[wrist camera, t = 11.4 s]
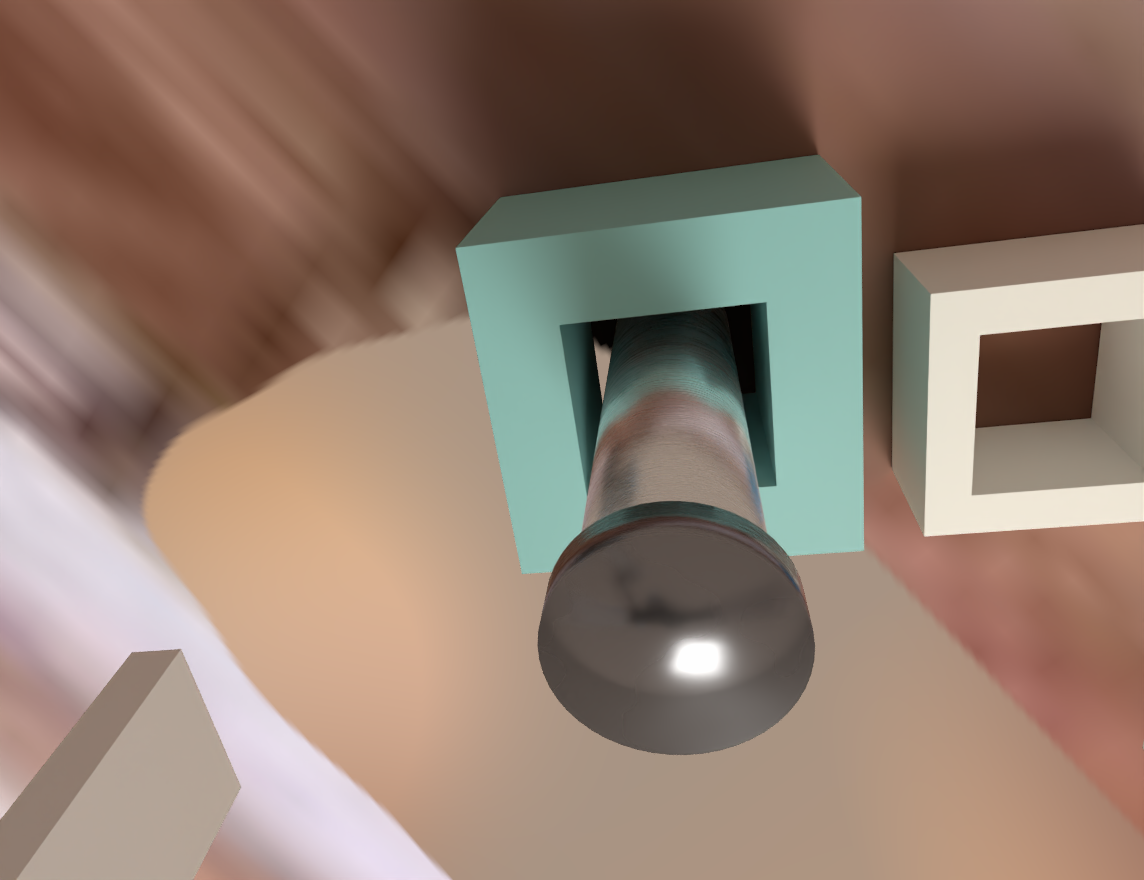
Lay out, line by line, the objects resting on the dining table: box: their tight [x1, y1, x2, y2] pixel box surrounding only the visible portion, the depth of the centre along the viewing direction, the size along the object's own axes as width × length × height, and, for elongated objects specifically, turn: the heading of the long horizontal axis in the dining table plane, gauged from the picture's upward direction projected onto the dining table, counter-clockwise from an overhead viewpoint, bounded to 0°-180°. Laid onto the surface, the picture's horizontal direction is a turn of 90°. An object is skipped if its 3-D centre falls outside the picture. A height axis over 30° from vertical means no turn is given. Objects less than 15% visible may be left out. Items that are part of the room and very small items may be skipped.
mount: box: [892, 224, 1144, 536], centre depth 24 cm, size 7×7×4 cm
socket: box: [456, 155, 864, 574], centre depth 24 cm, size 9×9×6 cm
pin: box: [538, 307, 815, 755], centre depth 20 cm, size 4×4×15 cm
